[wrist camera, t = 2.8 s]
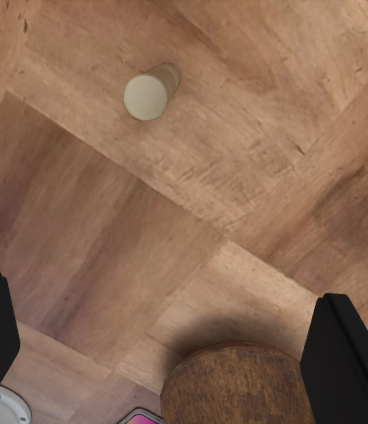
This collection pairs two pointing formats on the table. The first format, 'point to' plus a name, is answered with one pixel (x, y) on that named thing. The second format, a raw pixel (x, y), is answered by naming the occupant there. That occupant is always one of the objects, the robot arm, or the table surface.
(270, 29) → the table surface
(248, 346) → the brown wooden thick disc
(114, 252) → the table surface
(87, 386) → the table surface
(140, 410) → the smartphone
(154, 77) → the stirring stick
